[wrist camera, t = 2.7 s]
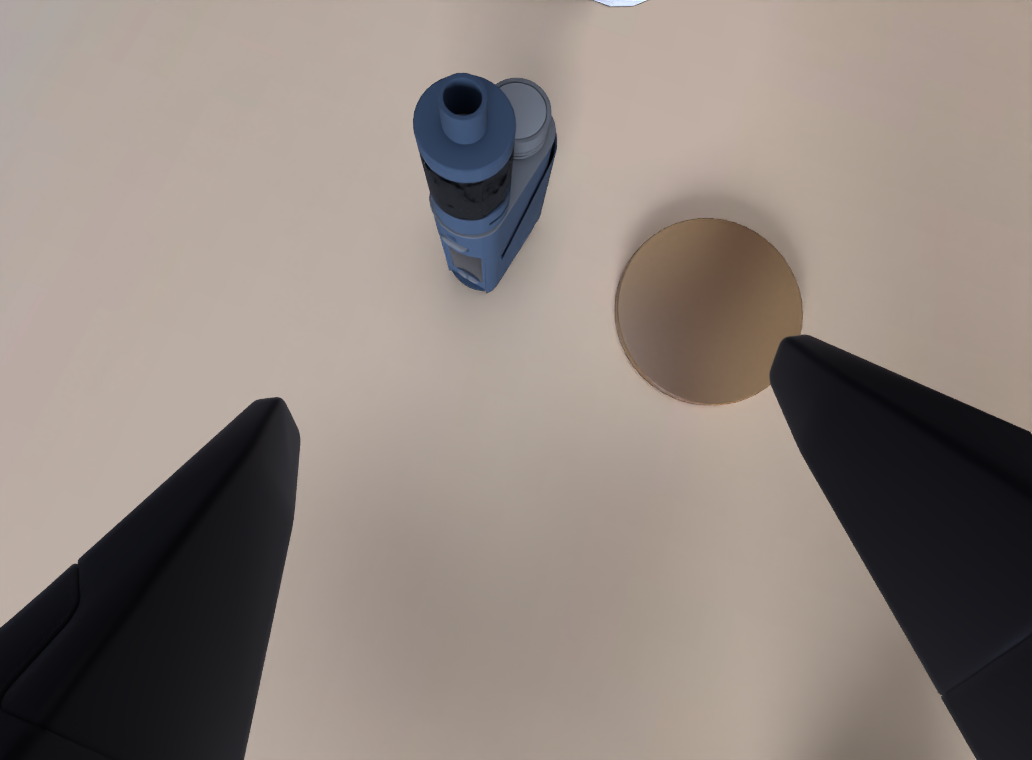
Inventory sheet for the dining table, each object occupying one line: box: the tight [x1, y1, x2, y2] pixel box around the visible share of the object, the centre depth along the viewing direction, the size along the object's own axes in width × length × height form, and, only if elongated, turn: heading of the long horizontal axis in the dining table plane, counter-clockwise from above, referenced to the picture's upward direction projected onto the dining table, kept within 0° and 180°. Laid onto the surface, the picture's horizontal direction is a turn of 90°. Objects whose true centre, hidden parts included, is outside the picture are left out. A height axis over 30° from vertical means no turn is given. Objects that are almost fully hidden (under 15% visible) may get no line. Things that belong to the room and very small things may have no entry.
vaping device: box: [413, 73, 557, 293], centre depth 17 cm, size 3×5×12 cm, turn 148°
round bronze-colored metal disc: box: [615, 218, 803, 405], centre depth 23 cm, size 8×8×1 cm
